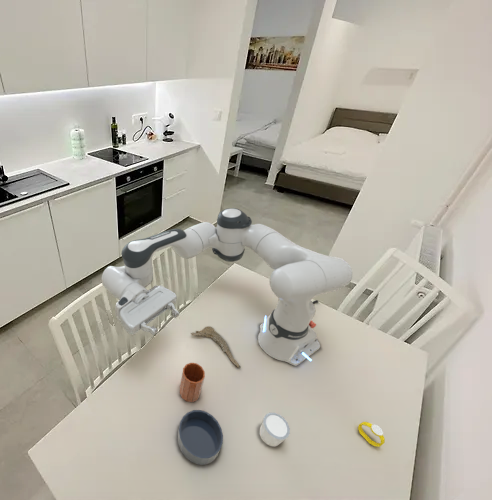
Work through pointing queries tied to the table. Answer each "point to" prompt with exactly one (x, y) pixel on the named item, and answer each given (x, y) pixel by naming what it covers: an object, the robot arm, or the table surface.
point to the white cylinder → (274, 429)
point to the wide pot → (200, 437)
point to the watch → (374, 429)
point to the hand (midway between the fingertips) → (167, 323)
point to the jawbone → (217, 338)
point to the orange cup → (191, 382)
